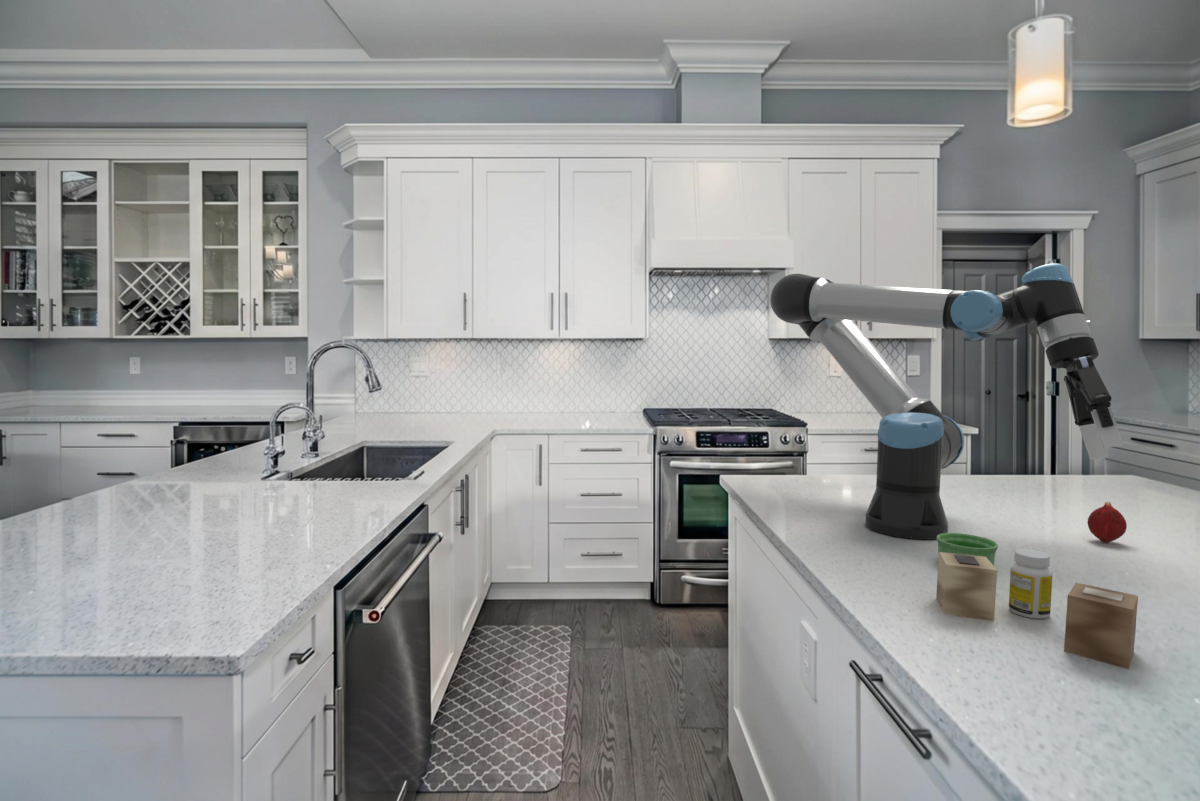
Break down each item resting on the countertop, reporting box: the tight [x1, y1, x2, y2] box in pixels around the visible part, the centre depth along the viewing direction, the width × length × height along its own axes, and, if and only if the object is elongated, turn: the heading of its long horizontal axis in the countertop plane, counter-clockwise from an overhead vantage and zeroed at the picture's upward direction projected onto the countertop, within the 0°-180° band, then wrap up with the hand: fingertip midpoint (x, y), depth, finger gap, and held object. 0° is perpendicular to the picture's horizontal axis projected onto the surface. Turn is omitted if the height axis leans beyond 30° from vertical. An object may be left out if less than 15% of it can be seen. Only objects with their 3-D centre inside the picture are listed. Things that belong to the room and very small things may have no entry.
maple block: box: [935, 552, 998, 622], centre depth 88 cm, size 6×6×7 cm
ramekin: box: [936, 532, 999, 567], centre depth 107 cm, size 9×9×4 cm
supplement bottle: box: [1008, 548, 1053, 620], centre depth 87 cm, size 5×5×8 cm
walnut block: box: [1063, 582, 1139, 670], centre depth 75 cm, size 6×6×7 cm
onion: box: [1087, 501, 1128, 544], centre depth 120 cm, size 6×6×8 cm
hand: (1106, 453), depth 112 cm, fingers open, 13 cm apart
